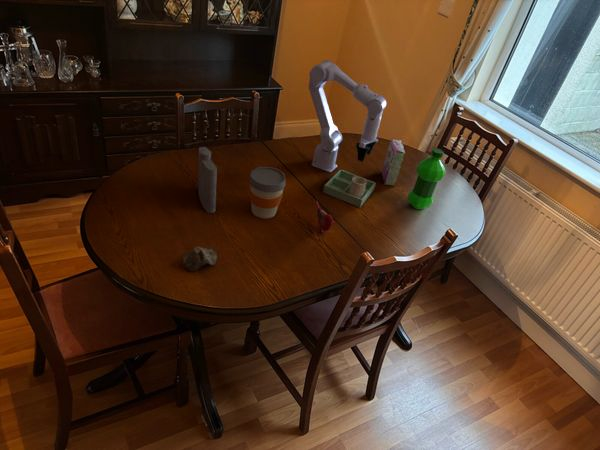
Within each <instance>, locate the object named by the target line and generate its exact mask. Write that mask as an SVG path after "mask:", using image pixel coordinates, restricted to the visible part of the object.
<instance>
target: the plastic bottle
mask: <svg viewBox="0 0 600 450" xmlns="http://www.w3.org/2000/svg"><path fill="white" fill-rule="evenodd" d="M444 153H445V151H444V150H443V149H441V148H438V147H434V148H432V150H431V153H430V155H431V156H430V157H427V158H424V159H422V160H421V161H420V162H419V164H418V165H417V167H416V173H417V176H416V177H417V178H416V181H415V183H414V186H413V188H412V190H411V191H410V192H409V193H408V196H407V197H408V198H407V199H408V202H409V203H410V205H411V206H412V208H414V209H416V210H424V209H428V208H430V207H431V205H432V204H433V202H434V193H435V190H436V187H437V185H438V183H439V182H440V181H442V179H443V178H444V176H445V174H446V167H445V165H444V164H443V162H442V160H441V158H443V156H444Z"/></svg>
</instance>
